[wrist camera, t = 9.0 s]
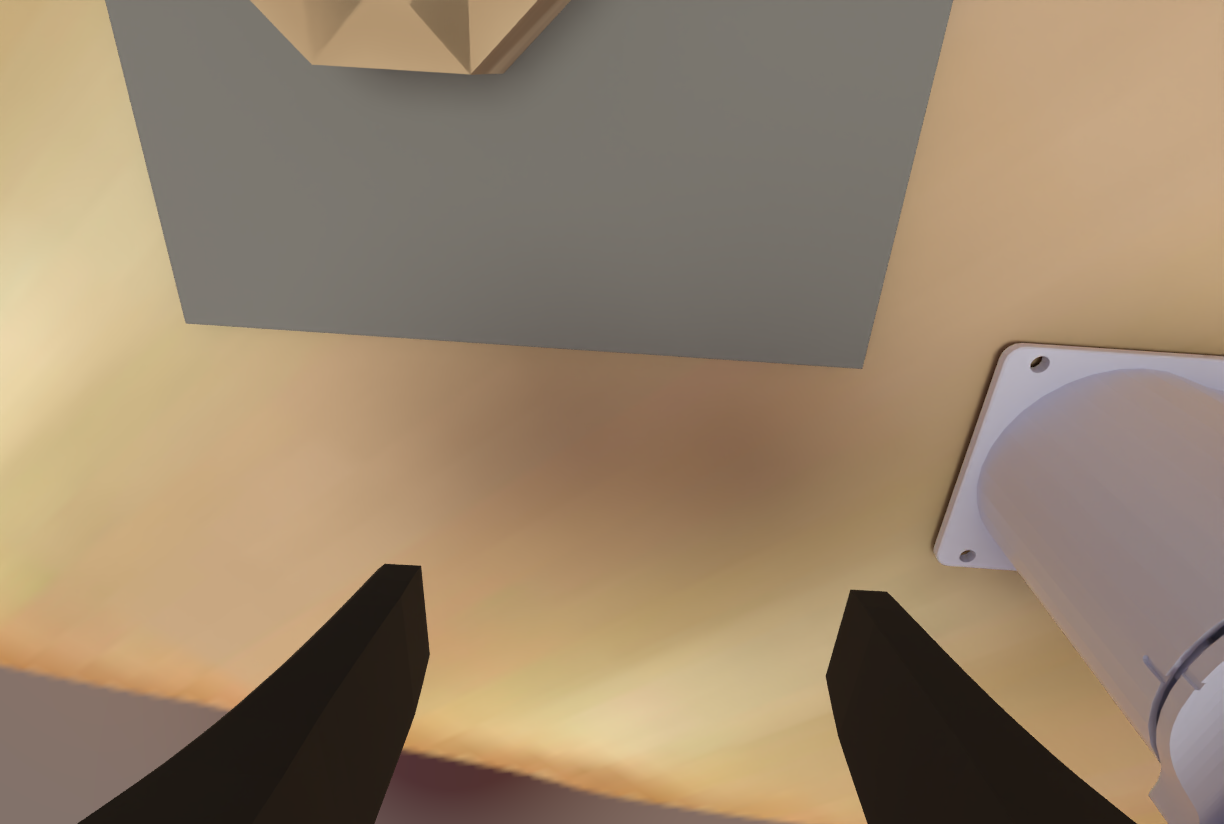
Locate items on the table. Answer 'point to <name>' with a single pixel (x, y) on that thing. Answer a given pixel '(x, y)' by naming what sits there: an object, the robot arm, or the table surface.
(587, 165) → the charcoal mat
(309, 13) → the beech bead
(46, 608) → the table surface
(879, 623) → the robot arm
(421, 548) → the table surface
